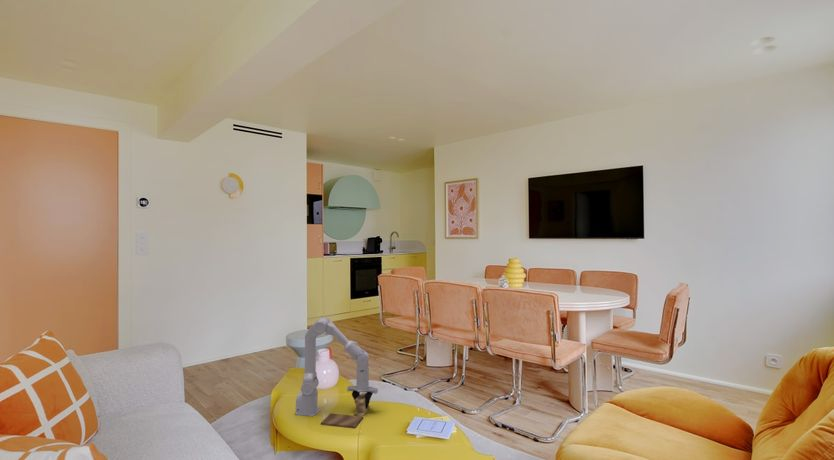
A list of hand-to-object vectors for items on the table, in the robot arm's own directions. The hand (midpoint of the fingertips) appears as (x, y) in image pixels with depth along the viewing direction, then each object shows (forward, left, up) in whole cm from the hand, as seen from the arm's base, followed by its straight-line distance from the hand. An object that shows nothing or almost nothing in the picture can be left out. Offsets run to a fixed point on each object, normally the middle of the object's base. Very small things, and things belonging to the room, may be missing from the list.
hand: (362, 407), depth 187 cm
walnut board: (-5, -12, -2) cm, 13 cm away
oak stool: (0, 0, -2) cm, 2 cm away
